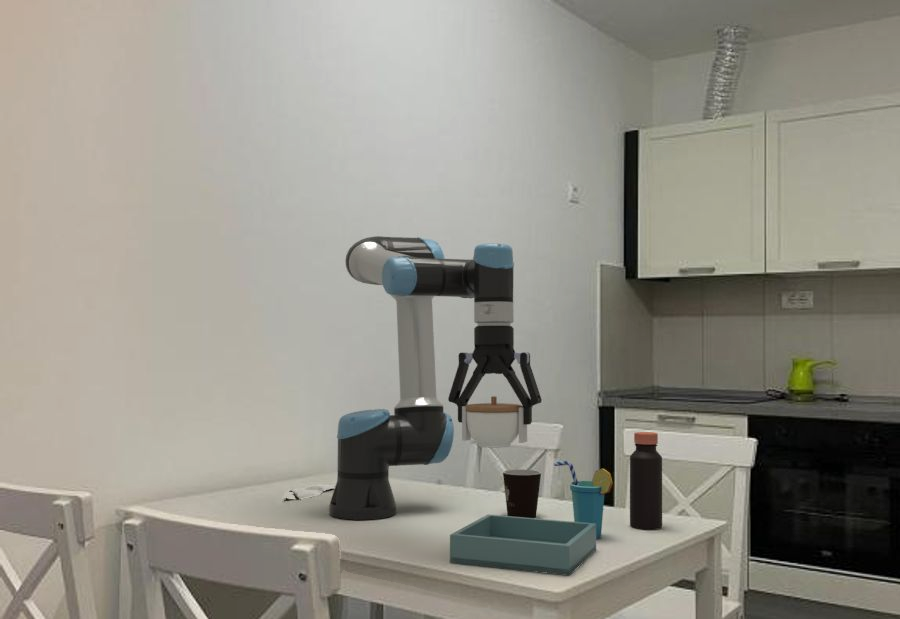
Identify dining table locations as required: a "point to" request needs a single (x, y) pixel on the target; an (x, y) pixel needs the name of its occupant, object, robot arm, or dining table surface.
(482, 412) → the lidded jar
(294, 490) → the cloth
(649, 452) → the bottle
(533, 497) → the coffee mug
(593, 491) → the cup
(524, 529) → the tote
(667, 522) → the dining table surface
